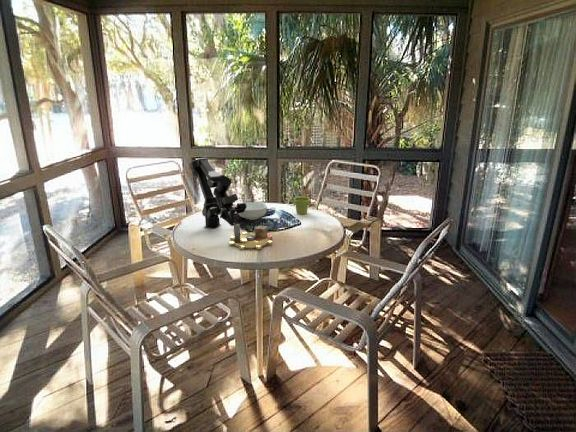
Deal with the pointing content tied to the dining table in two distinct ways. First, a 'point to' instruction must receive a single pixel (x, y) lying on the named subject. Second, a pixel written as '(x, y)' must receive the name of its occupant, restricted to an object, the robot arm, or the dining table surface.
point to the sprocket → (248, 239)
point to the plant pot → (301, 205)
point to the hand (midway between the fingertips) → (232, 225)
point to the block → (261, 231)
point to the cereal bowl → (254, 210)
